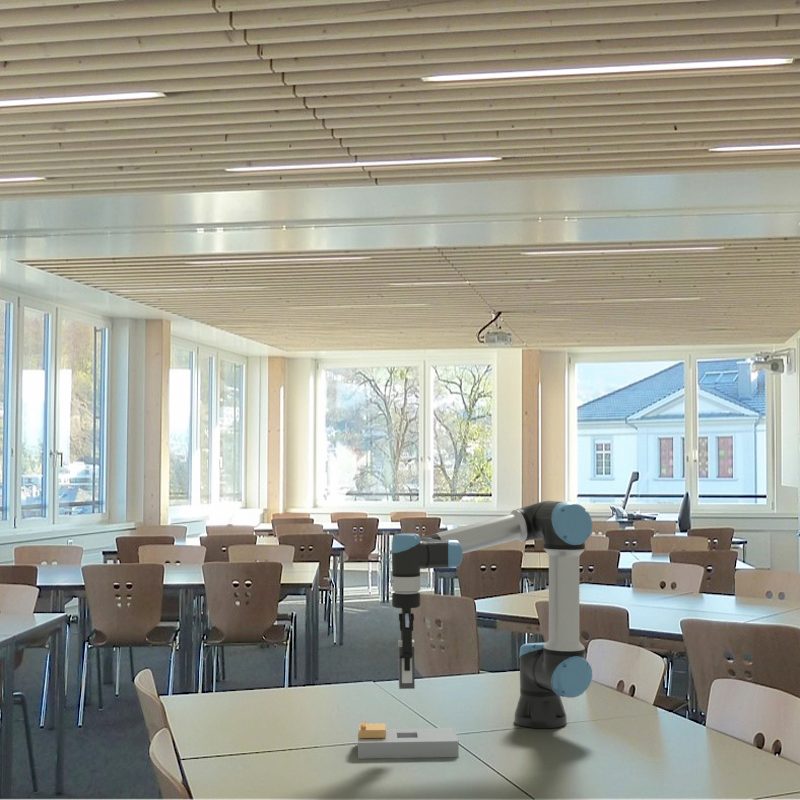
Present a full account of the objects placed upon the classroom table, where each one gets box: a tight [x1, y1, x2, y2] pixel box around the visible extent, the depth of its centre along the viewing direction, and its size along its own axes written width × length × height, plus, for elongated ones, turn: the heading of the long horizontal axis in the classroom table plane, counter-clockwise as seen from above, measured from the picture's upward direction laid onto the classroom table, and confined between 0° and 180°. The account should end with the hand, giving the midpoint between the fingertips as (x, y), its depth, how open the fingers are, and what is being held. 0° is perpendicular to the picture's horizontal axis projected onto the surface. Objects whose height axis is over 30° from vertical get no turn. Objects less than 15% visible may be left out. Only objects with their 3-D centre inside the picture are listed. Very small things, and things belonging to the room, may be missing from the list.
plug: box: [397, 639, 416, 690], centre depth 287 cm, size 4×4×12 cm
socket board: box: [357, 727, 460, 759], centre depth 286 cm, size 26×14×4 cm, turn 92°
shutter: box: [358, 720, 387, 738], centre depth 286 cm, size 7×7×3 cm
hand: (406, 680), depth 287 cm, fingers closed on plug, 4 cm apart
